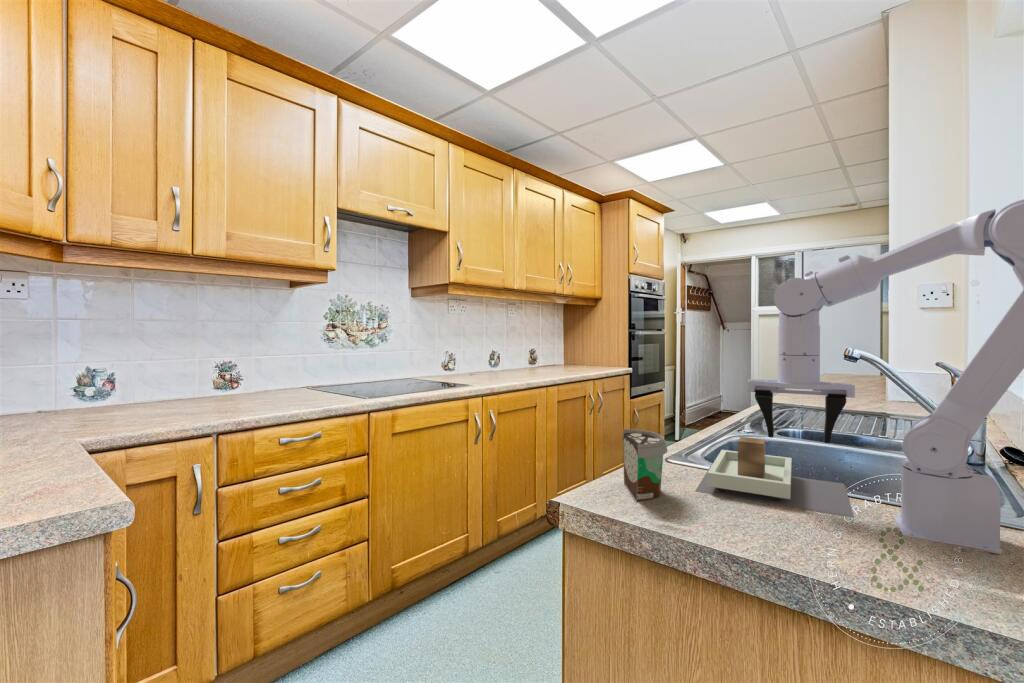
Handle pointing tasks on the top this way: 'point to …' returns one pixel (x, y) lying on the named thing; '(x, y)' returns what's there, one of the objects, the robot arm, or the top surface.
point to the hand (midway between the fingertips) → (798, 438)
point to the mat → (797, 496)
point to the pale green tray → (773, 483)
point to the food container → (643, 463)
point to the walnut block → (751, 457)
